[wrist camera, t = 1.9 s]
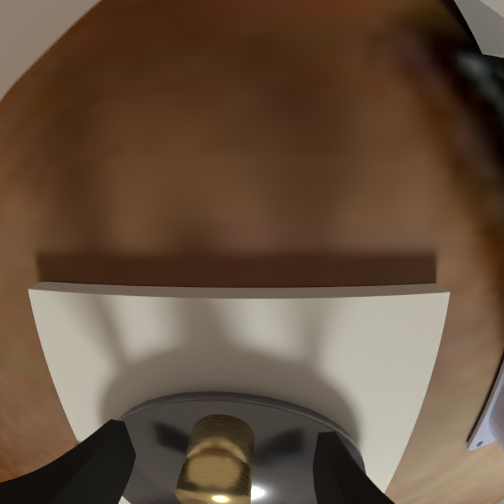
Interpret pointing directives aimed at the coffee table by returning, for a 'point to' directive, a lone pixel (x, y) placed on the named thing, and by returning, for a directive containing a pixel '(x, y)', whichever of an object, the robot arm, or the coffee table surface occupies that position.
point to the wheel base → (248, 352)
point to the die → (485, 23)
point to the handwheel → (225, 449)
